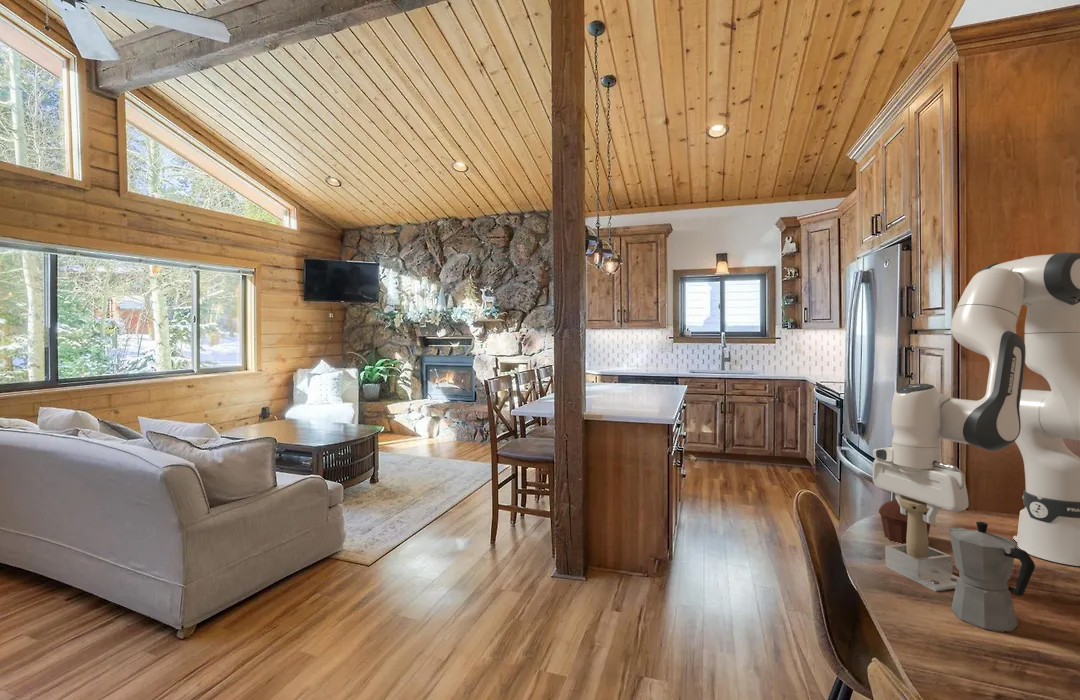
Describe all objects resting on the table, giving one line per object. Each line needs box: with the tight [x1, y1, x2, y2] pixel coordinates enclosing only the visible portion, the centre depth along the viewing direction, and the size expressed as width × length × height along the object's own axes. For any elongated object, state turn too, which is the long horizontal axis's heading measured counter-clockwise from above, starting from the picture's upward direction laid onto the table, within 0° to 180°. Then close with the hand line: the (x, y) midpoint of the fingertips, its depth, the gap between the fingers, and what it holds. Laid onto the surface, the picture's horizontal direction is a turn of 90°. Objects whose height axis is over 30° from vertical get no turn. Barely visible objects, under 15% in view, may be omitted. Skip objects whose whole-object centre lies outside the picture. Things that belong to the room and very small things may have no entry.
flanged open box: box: [884, 543, 959, 592], centre depth 110 cm, size 9×12×5 cm
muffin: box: [878, 499, 931, 544], centre depth 130 cm, size 12×11×10 cm
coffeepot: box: [947, 521, 1036, 633], centre depth 92 cm, size 15×9×18 cm, turn 6°
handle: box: [899, 497, 930, 558], centre depth 112 cm, size 5×6×15 cm
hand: (917, 518), depth 112 cm, fingers closed on handle, 4 cm apart
